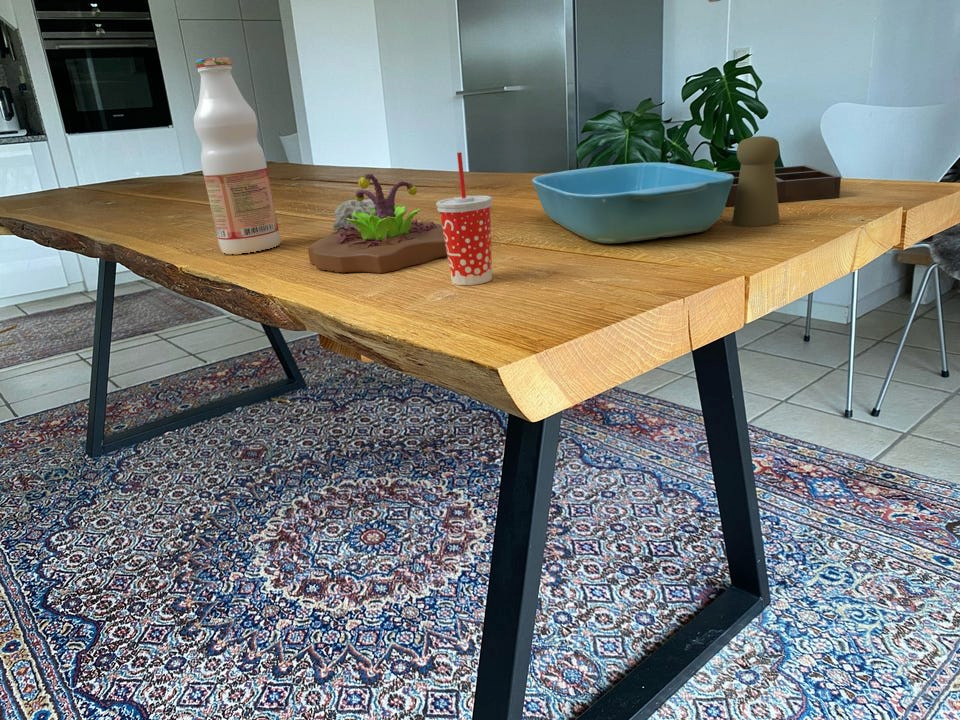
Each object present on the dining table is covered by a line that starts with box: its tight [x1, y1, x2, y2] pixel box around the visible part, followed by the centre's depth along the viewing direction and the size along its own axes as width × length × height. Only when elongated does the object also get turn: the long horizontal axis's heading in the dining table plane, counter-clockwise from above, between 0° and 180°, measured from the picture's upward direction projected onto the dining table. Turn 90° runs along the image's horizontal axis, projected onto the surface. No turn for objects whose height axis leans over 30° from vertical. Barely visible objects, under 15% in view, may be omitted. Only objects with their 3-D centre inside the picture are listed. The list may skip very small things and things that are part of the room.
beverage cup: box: [435, 151, 493, 286], centre depth 81 cm, size 6×6×14 cm
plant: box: [307, 173, 448, 274], centre depth 99 cm, size 20×20×11 cm
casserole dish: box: [531, 161, 734, 244], centre depth 105 cm, size 37×22×7 cm, turn 9°
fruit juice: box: [192, 57, 281, 255], centre depth 112 cm, size 9×9×28 cm
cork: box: [731, 135, 781, 227], centre depth 97 cm, size 6×6×11 cm
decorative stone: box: [332, 198, 375, 233], centre depth 125 cm, size 12×11×5 cm
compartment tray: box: [721, 164, 842, 207], centre depth 118 cm, size 16×16×3 cm
